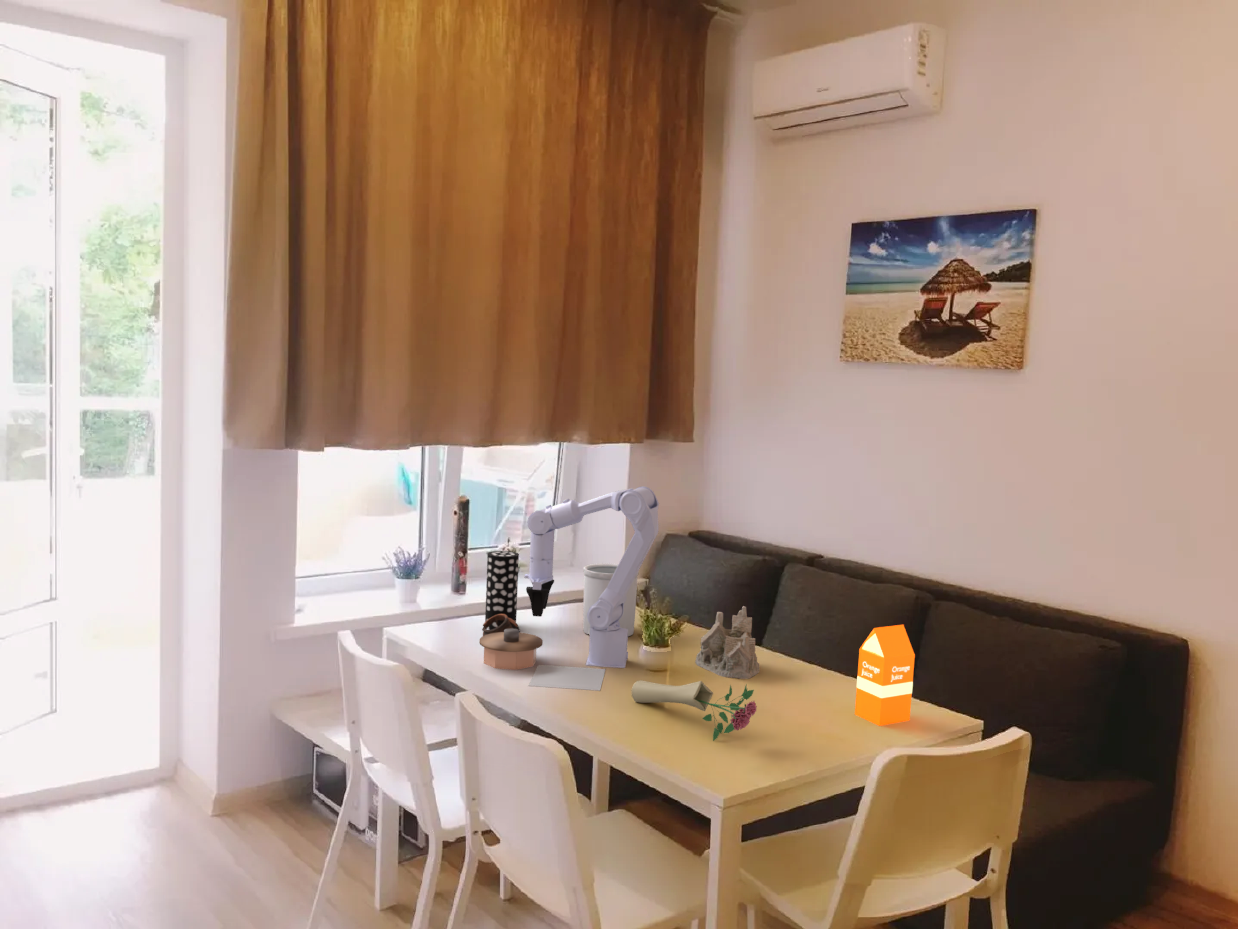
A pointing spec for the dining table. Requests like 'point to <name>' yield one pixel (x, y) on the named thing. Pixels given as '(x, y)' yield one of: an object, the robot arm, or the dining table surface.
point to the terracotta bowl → (509, 659)
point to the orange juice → (885, 676)
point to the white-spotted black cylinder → (501, 585)
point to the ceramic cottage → (729, 648)
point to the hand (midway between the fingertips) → (539, 612)
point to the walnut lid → (511, 641)
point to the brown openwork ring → (499, 624)
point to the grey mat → (568, 677)
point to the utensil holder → (596, 585)
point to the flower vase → (696, 701)
